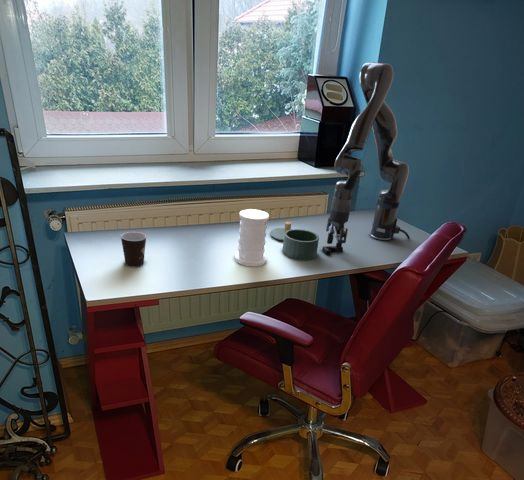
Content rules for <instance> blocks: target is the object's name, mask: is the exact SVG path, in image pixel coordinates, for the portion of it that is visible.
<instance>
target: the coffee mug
mask: <svg viewBox="0 0 524 480" xmlns="http://www.w3.org/2000/svg"><path fill="white" fill-rule="evenodd" d="M120 241H121V245H122V252H123V257H124V264H125V265H126V266H128V267H134V268H135V267H140V266H143V265H144V263H145V253H146V245H147V244H146V243H147V242H146V241H147V235H146V234H145V233H143V232H138V231H128V232H127V231H126V232H123V233H122V234H120Z"/></svg>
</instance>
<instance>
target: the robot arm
mask: <svg viewBox="0 0 524 480" xmlns="http://www.w3.org/2000/svg"><path fill="white" fill-rule="evenodd" d="M394 75H395V72H394V68H393V66H392V65H391V64H390V63H385V62H384V63H383V62H373V61H372V62H371V61H370V62H369V61H368V62H365V63H364V64H363V65H362V66H361V68H360V71H359V85H360V89H361V92H362V95H363V97H364V100H365V102H366V103H365V104H366V105H365V107H364V108H363V109H362V111H361V112H360V113H359V114H358V115H357V117H356V118H355V120H353V122H352V124H351V127H350V130H349V133H348V136H347V139H346V142H345V144H344V145H343V147H342V149H341V150H340V152H339V154H338V155H337V157H336V159H335V161H334V170H335V172H336V173H337V174H340V175H343V176H346V177H347V179H346V180H338V181H337V182H336V183H335V187H334V193H333V197H332V201H331V207H330V212H329V217H328V219H327V223H326V229H325V231H326V232H327V239H326V244H327V245H332V244H333V241H334V238H336V242H335V246H336V248H335V251H336V252H335V253H340V251H341V247H343V244H346V243H347V237H348V231H349V228H345V224H346V223H348V222H349V218H350V214H351V213H350V212H351V207H352V199H353V195H354V190H355V187H356V184H357V183H358V182H357V181H358V180H359V178H360V176H361V173H362V171H363V169H364V165H363V161H362V159H361V158H359V157H356V156H352V154H353V153H354V152H362V151H364V149H365V147H366V144H367V142H368V138H369V135H370V132H371V129H372V133H373V134H372V135H373V138H374V141H375V147H376V148H375V149H376V152H377V161H378V169H379V170H378V172H379V175H380V177H381V179H382V180H383V181H385V182H388V183H390V186H389V188H385V189H382V190H380V191H379V193H378V198H377V203H376V207H375V212H374V216H373V221H372V225H371V230H370V234H369V235H370V237H371V238H373V239H375V240H379V241H391V240H393V239H394V235H395V234H400V232H401V233H402V234H404V235H405V236H406V238H407V239H408V240H410V238H411V237H410V235H409V233H408V232H406V230H404V229H401V226H399V225H398V224H397V223H398V217H397V215H398V210H399V206H400V202H401V199H402V196H403V194H404V192H405V187H406V184H407V181H408V178H409V175H410V174H409V173H410V166H409V164H408V163H407V162H404V161H401V160H397V159H395V158H394V155H393V150H392V149H393V145H394V143H395V142H396V140H397V137H398V125H397V120H396V119H397V118H396V116H395V113H394V112H393V110H392V109H391V108H390V106H389V105H388V103H386V101H385V100H386V97H387V95H388V93H389V91H390V89H391V86H392V84H393V81H394Z"/></svg>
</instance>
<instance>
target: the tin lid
mask: <svg viewBox="0 0 524 480" xmlns="http://www.w3.org/2000/svg"><path fill="white" fill-rule="evenodd" d="M292 229H293V228H292V222H290V221H285V223H284V227H277V228H273V229H271V230H270V231H269V235H270V236H271V237H272V238H273V239H274V240H278V241H282V242H284V233H285V232H286V231H288V230H292Z"/></svg>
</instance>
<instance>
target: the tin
mask: <svg viewBox="0 0 524 480" xmlns="http://www.w3.org/2000/svg"><path fill="white" fill-rule="evenodd" d="M291 229H292V230H288V231H286V232H285V233H284V241H282V254H283V255H284V256H286V257H287V258H290V259H292V260H298V261H309V260H313V259H315V258H316V256H317V254H318V253H317V252H318V248H319V241H320V236H319V234H317V233H315V232H314V231H311V230H308V229H307V230H306V229H301V228H291Z"/></svg>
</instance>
